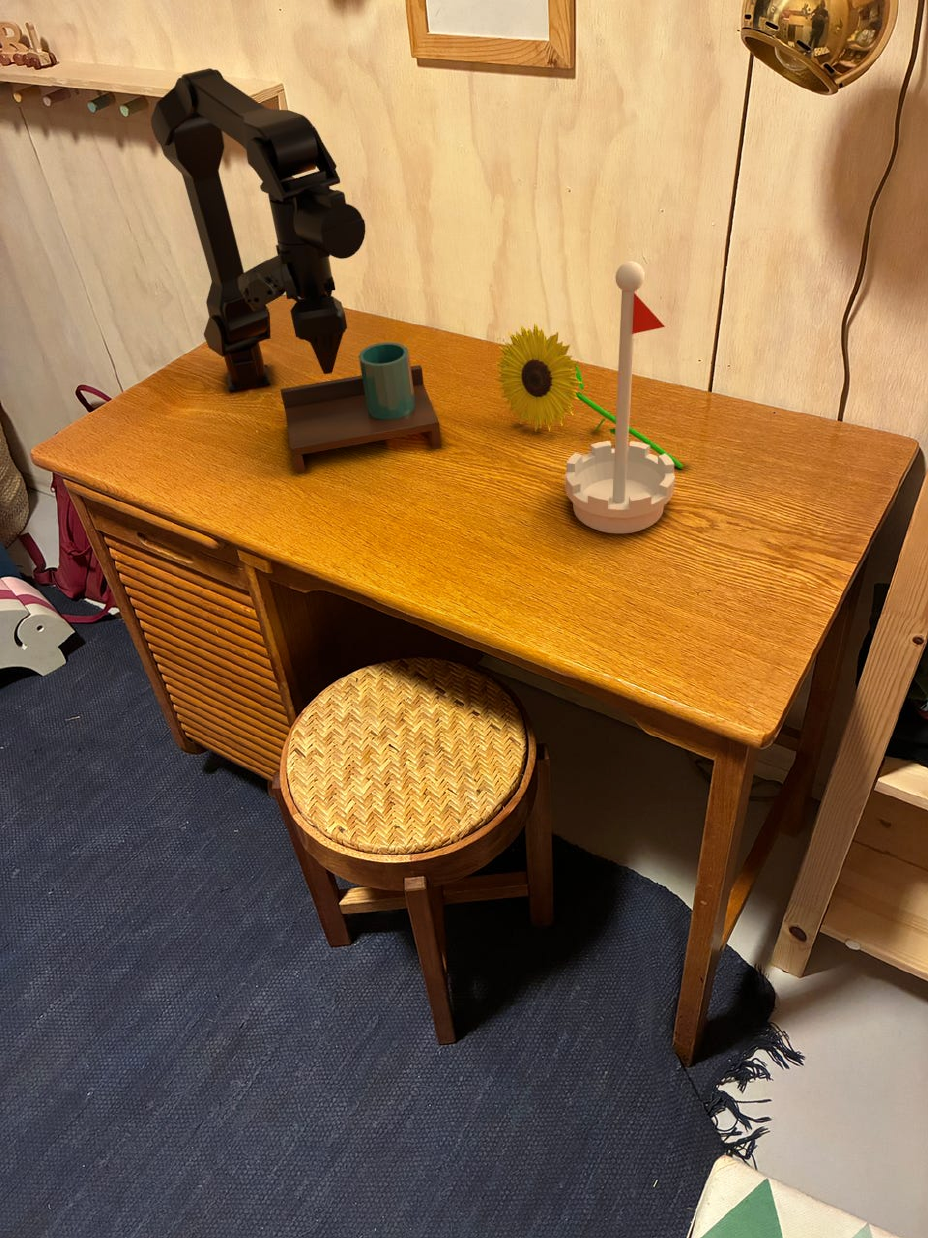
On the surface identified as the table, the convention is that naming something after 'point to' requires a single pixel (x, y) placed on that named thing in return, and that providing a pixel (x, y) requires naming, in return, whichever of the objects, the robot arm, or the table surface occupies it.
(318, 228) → the robot arm
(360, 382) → the desk shelf
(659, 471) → the flag stand
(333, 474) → the table surface
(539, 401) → the decorative plant
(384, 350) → the glazed pot
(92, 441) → the table surface
